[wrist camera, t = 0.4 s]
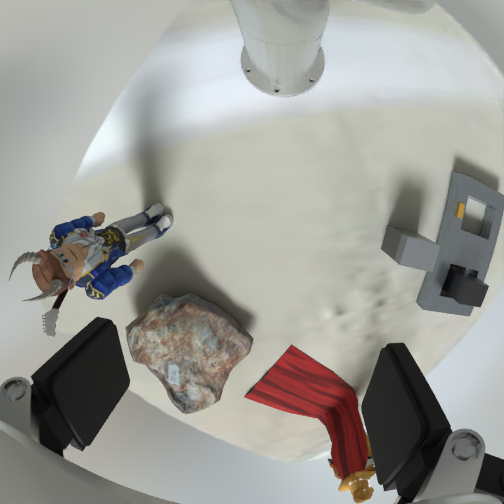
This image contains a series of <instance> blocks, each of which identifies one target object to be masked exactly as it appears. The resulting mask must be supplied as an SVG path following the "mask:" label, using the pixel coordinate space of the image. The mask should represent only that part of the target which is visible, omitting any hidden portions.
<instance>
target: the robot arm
mask: <svg viewBox="0 0 504 504" xmlns="http://www.w3.org/2000/svg"><path fill="white" fill-rule="evenodd" d="M229 1H230V3H231V5H232V8H233V10H234V13H235V16H236V18H237V22H238V25H239V28H240V31H241V34H242V37H243V40H244V43H245V47H244V48H243V51H242V54H241V67H242V70H243V73H244V75H245V77H246V78H247V80H248V81H249V82H250V83H251V84H252V85H253V86H254V87H255V88H257V89H258V90H260V91H262V92H264V93H266V94H269V95H273V96H278V97H289V96H296V95H299V94H302V93H304V92H306V91H308V90H310V89H311V88H312V87H314V86H315V85H316V83H317V82H318V81H319V79H320V78H321V76H322V73H323V70H324V57H323V53H322V51H321V49H320V47H319V46H320V43H321V40H322V36H323V33H324V29H325V26H326V23H327V20H328V16H329V2H328V0H229ZM351 1H355V2H360V3H365V4H369V5H373V6H377V7H381V8H385V9H388V10H392V11H396V12H400V13H405V14H422V13H425V12H427V11H429V10H430V9H431V8H433V7H434V6H435V4H436V3H437V2H438V0H351ZM247 71H250V72H247ZM310 80H312V81H313V82H310ZM276 90H278V91H279V92H275V91H276ZM31 378H32V380H33V382H34V383H33V384H32V385H31V384H30V382H29V381H28V380H27V379H25V378H23V377H13V378H10V379H8V380H6V381H5V382H4V383H3V384H2V385H1V387H0V504H178V503H175V502H171V501H167V500H164V499H160V498H157V497H154V496H150V495H147V494H144V493H141V492H138V491H135V490H133V489H130V488H127V487H125V486H122V485H120V484H117V483H115V482H112V481H110V480H108V479H105V478H103V477H101V476H98V475H96V474H94V473H92V472H90V471H88V470H86V469H84V468H82V467H80V466H78V465H76V464H74V463H72V462H70V460H69V455H68V449H67V446H68V445H69V443H70V444H71V446H73V447H75V448H77V449H79V450H81V451H83V450H84V449H85V447H86V446H89V445H90V444H91V443H92V441H93V440H94V438H95V437H96V435H97V434H98V432H99V430H100V429H101V427H102V426H103V425H104V423H105V422H106V420H107V419H108V417H109V415H110V414H111V412H112V411H113V409H114V408H115V406H116V405H117V403H118V402H119V400H120V399H121V397H122V396H123V395H124V393H125V392H126V390H127V389H128V387H129V384H130V378H129V374H128V371H127V367H126V364H125V360H124V356H123V352H122V348H121V344H120V340H119V336H118V331H117V327H116V325H114V324H113V322H112V320H110V319H105V318H101V317H97V318H95V319H94V320H93V321H92V322H90V323H89V324H88V325H87V326H86V327H85V328H83V329H82V330H81V331H80V332H79V333H78V334H77V335H75V336H74V337H73V338H72V339H71V340H70V341H69V342H68V343H66V344H65V345H64V346H63V347H62V348H61V349H60V350H59V351H58V352H57V353H55V354H54V355H53V356H52V357H51V358H50V359H49V360H48V361H47V362H46V363H45V364H44V365H42V366H41V367H40V368H39V369H38V370H37V371H36V372H35V373H34V374H33V375H32V376H31ZM362 414H363V418H364V422H365V426H366V430H367V434H368V439H369V443H370V447H371V451H372V456H373V460H374V465H375V470H376V475H377V480H378V483H379V484H380V485H383V488H384V491H389V490H393V489H397V492H398V495H399V496H398V498H397V499H396V501H395V502H394V504H504V460H503V459H500V458H498V457H495V456H492V455H489V454H487V453H485V443H484V441H483V439H482V437H481V436H480V435H479V434H478V433H477V432H475V431H473V430H470V429H459V430H456V431H454V432H452V430H451V428H450V427H451V426H450V424H449V422H448V420H447V418H446V416H445V414H444V412H443V410H442V408H441V406H440V404H439V402H438V401H437V399H436V397H435V395H434V393H433V391H432V390H431V388H430V386H429V384H428V382H427V381H426V379H425V377H424V375H423V374H422V372H421V370H420V369H419V367H418V365H417V363H416V362H415V360H414V358H413V357H412V355H411V353H410V352H409V350H408V348H407V347H406V345H405V344H404V343H389V344H387V345H386V347H385V348H382V349H381V351H380V354H379V357H378V360H377V363H376V366H375V369H374V372H373V375H372V378H371V381H370V383H369V386H368V389H367V391H366V394H365V397H364V399H363V402H362Z"/></svg>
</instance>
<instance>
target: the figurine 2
mask: <svg viewBox="0 0 504 504" xmlns="http://www.w3.org/2000/svg"><path fill="white" fill-rule="evenodd" d="M245 398H248V399H250V400H253V401H256V402H259V403H262V404H264V405H267V406H270V407H273V408H276V409H279V410H282V411H285V412H289V413H293V414H298V415H303V416H308V417H313V418H318V419H319V420H320V421H321V422H322V423H323V424H324V425H325V426H326V428H327V431H328V433H329V436H330V439H331V442H332V448H331V456H332V459H328V461H329V463H330V467H332V468H333V470H334V473H335V476H336V477H337V478H338V479H341V480H342V482H341V484H340V486H339V491H346V490H349V489H350V491H351V494H352V495H353V499H354V501H355V502H356V503H361V502H364V501H366V500H368V499H370V498H371V496H372V493H373V491H374V489H373V488H372V487H370V483H369V480H370V479H371V478H372V476H373V475H374V474H375V473H376V471H375V467H374V466H373V465H374V464H373V463H374V461H373V456H372V451H371V447H370V443H369V439H368V436H367V434H366V432H365V430H364V428H363V424H362V420H361V417H360V414H359V411H358V399H357V397H356V394H355V392H354V390H353V388H351V387H350V386H349V385H348V384H346V383H345V382H344V381H343V380H342V379H340V378H339V377H338V376H337V375H336V374H335V373H334V372H332V371H331V370H329V369H328V368H326V367H324V366H323V365H321V364H320V363H318V362H316V361H315V360H313V359H312V358H310V357H309V356H307V355H306V354H304V353H303V352H301V351H300V350H298V349H297V348H295V347H294V346H292V345H291V346H290V347H289V349H288V350H287V351H286V352H285V353H284V354H283V356H282V357H281V358H280V359H279V360H278V361H277V362H276V363H275V364H274V366H273V367H272V368H271V369H270V371H269V372H268V373H267V375H266V376H265V377H264V378H262V379H261V380H260V381H259V382H258V383H257V384H256V386H255V387H254V388H253V390H252V391H251V392H250V393H249V394H247V395H246V396H245Z"/></svg>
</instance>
